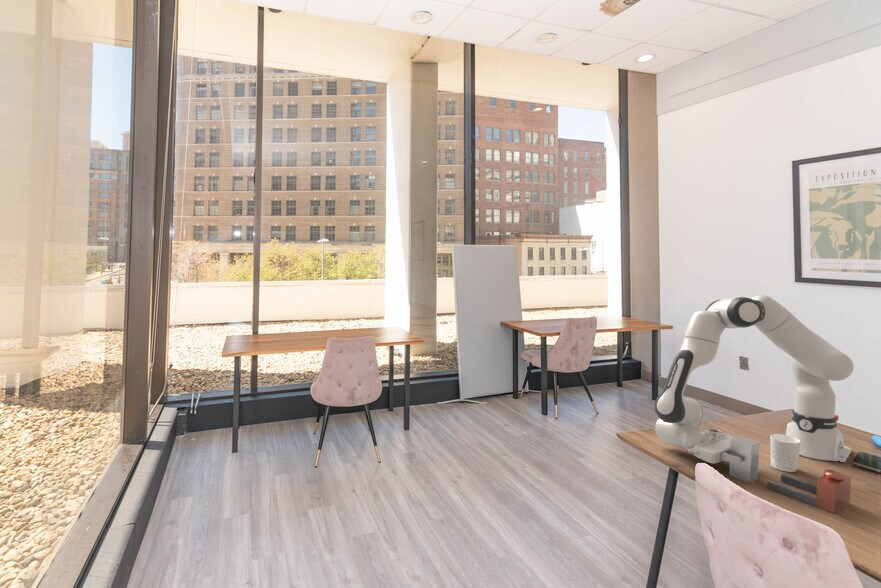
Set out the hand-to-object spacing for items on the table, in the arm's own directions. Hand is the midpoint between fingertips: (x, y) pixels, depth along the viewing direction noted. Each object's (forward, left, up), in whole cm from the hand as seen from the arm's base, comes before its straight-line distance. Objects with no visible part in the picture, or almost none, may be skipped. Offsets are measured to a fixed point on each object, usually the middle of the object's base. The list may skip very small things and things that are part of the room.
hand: (747, 458), depth 138 cm
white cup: (-19, +2, -7) cm, 20 cm away
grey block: (0, -1, -7) cm, 7 cm away
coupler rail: (-4, +14, -6) cm, 16 cm away
